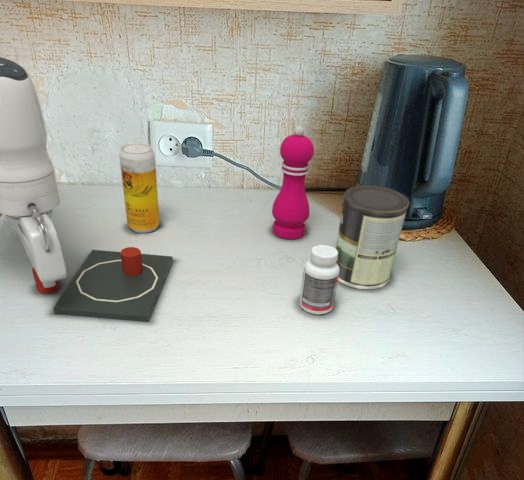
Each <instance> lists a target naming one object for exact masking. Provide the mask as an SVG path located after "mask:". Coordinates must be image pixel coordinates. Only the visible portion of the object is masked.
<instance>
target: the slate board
mask: <svg viewBox="0 0 524 480" xmlns="http://www.w3.org/2000/svg"><path fill="white" fill-rule="evenodd" d="M120 252H121V251H115V250H114V251H112V250H103V249H102V250H100V249H91V251H90V253H89V254H88V256H87V257H86V258H85V260H84V261H83V263H82V265H81V266H80V267H79V269H78V270H77V272H76V274H75V275H74V277H72V279H71V281H70V283H69V284H68V285H67V286H66V288H65V290H64V291H63V293H62V295H61V296H60V297H59V299H57V300H58V301H57V302H56V303H55V305H54V306H53V308H52V310H53V314H55V315H66V316H77V317H78V316H79V317H90V318H99V319H100V318H102V319H111V320H123V321H133V322H134V321H135V322H147V323H149V321H150V318H151V316H152V314H153V311H154V309H155V306H156V304H157V301H158V299H159V297H160V295H161V292H162V289H163V287H164V284H165V281H166V279H167V277H168V274H169V271H170V269H171V266H172V264H173V261H174V259H173V256H171V255H161V254H160V255H159V254H148V253H146V254H145V253H141V258H142V268H143V271H142V273H141V274H139V275H136V276H128V275H125V274H124V273H123V269H122V262H121V254H120Z"/></svg>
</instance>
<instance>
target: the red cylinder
mask: <svg viewBox="0 0 524 480" xmlns="http://www.w3.org/2000/svg"><path fill="white" fill-rule="evenodd" d="M119 252H120V254H121V262H122V269H123V273H124V274H125V275H128V276H136V275H139V274H141V273H142V271H143V268H142V258H141V254H142V250H141V249H139V247H134V246H129V247H124V248H122V249H121V250H120V251H119Z"/></svg>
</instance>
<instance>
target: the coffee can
mask: <svg viewBox="0 0 524 480" xmlns="http://www.w3.org/2000/svg"><path fill="white" fill-rule="evenodd" d="M409 206H410V201H409V198H408V197H407V196H406V195H404V194H403V193H401V192H400V191H398V190H395V189H393V188H389V187H385V186H381V185H372V184H369V185H366V184H363V185H355V186H352V187H349V188H347V189H346V190H345V191H344V193H343V202H342V206H341V207H342V209H341V212H340V213H341V214H340V220H339V226H338V232H337V239H336V242H335V243H336V244H335V249H336V250H337V251H338V259H337V261H336V263H337V264H338V266H339V269H340V271H339V277H338V282H339V283H341V284H342V285H344V286H345V287H346V286H347V287H349V288H353V289H356V290H365V291H366V290H370V291H371V290H376V289H380V288H383V287H385V286H386V285H387V284H388V283H389V282H390V278H391V277H390V276H391V272H392V269H393V265H394V262H395V261H394V260H395V257H396V253H397V249H398V245H399V241H400V237H401V234H402V230H403V226H404V222H405V218H406V214H407V211H408V209H409Z"/></svg>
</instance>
